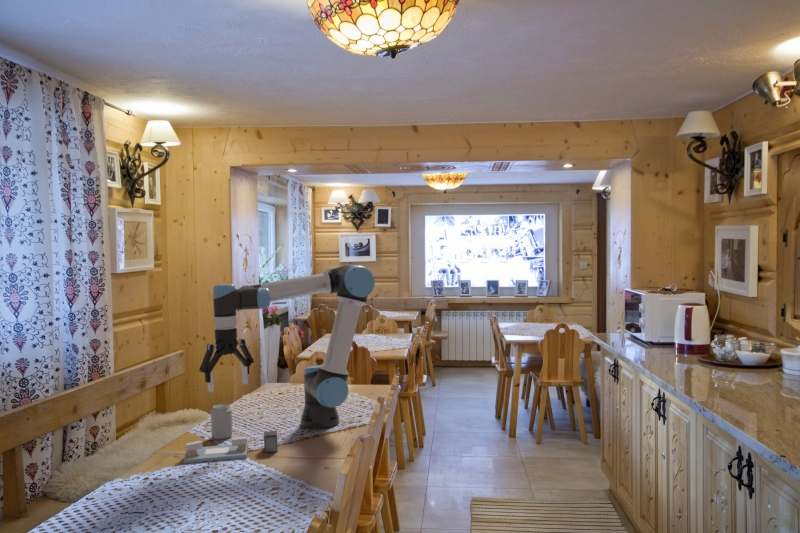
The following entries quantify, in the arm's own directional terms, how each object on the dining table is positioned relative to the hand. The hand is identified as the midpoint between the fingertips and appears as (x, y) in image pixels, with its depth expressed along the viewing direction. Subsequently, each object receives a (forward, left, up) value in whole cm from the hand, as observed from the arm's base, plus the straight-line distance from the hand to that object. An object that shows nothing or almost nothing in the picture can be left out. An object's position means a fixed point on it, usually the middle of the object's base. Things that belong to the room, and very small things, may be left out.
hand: (228, 387), depth 212 cm
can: (+4, -13, -22) cm, 25 cm away
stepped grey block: (-14, +7, -21) cm, 27 cm away
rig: (+4, +7, -21) cm, 23 cm away
